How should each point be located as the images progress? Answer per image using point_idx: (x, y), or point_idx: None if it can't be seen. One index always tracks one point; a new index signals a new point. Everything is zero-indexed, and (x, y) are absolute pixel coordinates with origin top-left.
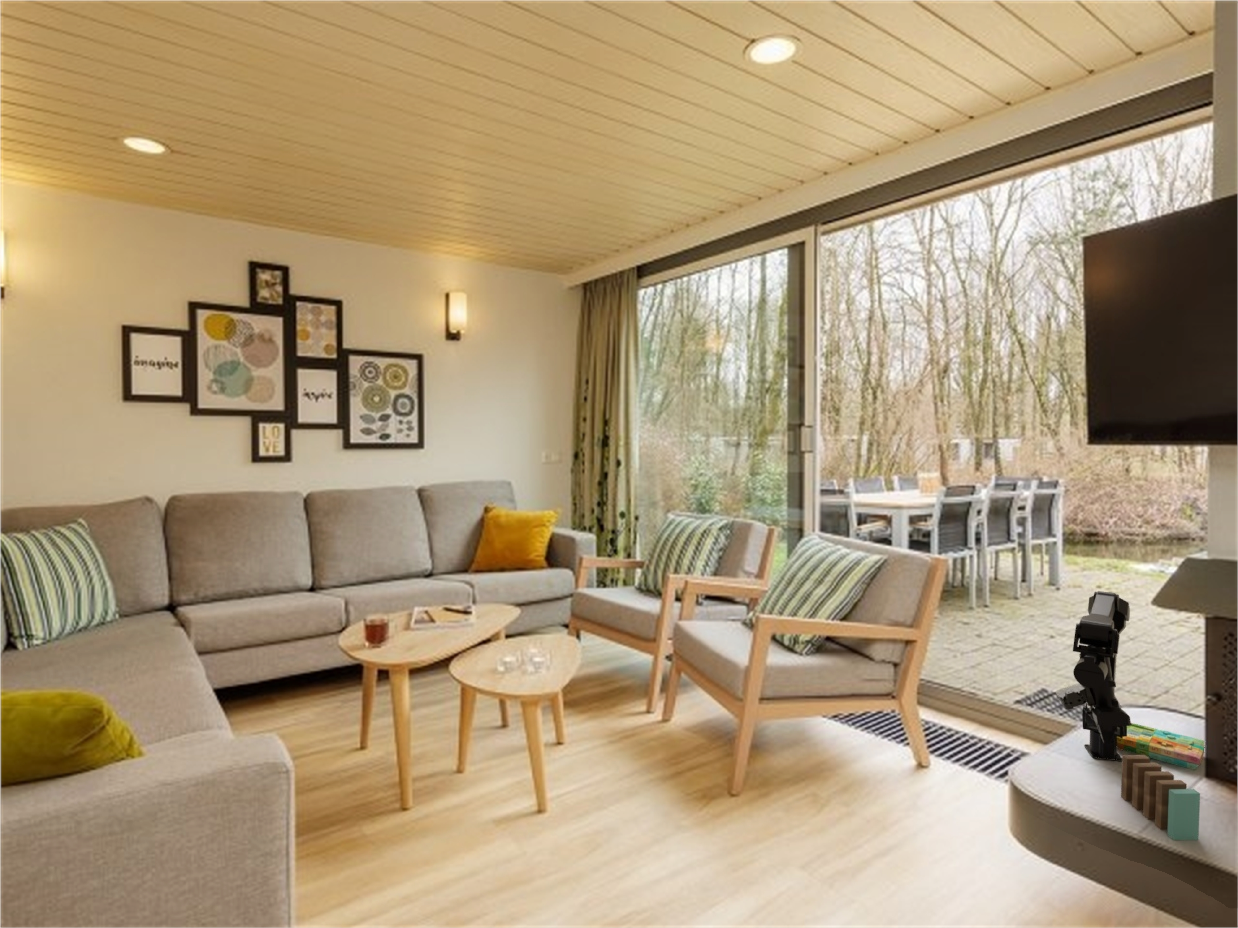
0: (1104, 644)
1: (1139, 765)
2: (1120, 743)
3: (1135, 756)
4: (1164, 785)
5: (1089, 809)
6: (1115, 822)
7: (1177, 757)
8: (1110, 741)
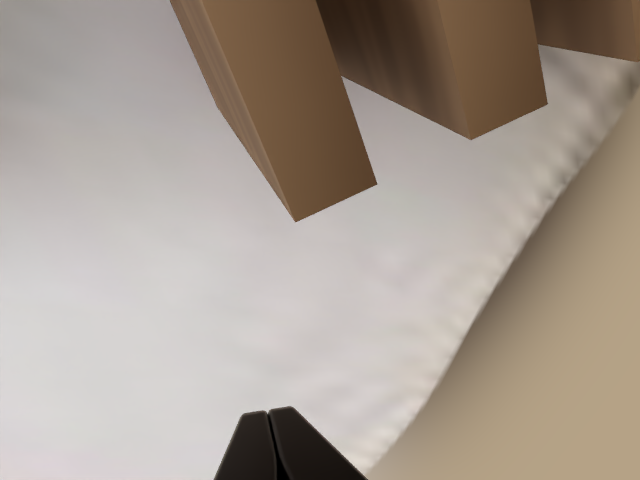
0: None
1: (514, 82)
2: None
3: (277, 71)
4: None
5: (424, 288)
6: (518, 186)
7: None
8: (309, 424)
